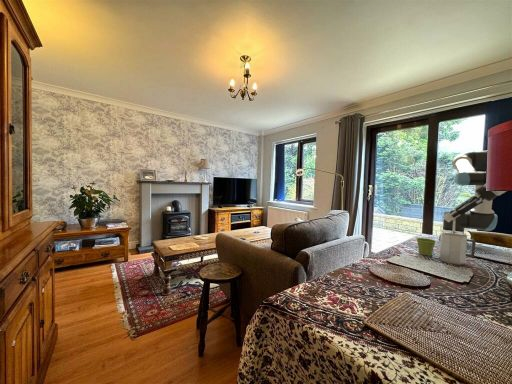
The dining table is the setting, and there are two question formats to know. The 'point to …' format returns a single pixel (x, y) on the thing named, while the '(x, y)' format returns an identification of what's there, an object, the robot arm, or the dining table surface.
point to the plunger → (453, 220)
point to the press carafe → (455, 247)
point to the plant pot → (425, 246)
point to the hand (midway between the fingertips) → (445, 219)
